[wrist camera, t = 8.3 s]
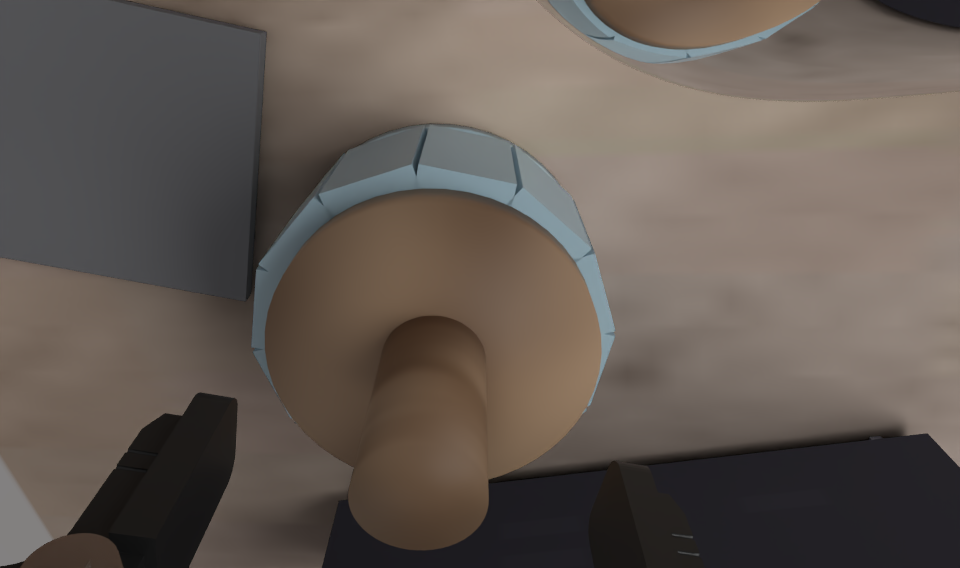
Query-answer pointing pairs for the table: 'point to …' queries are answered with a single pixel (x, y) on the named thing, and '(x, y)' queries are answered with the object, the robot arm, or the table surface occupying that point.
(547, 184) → the bowl
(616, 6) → the wineglass
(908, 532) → the radio
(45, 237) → the mat
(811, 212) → the table surface
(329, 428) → the lid
